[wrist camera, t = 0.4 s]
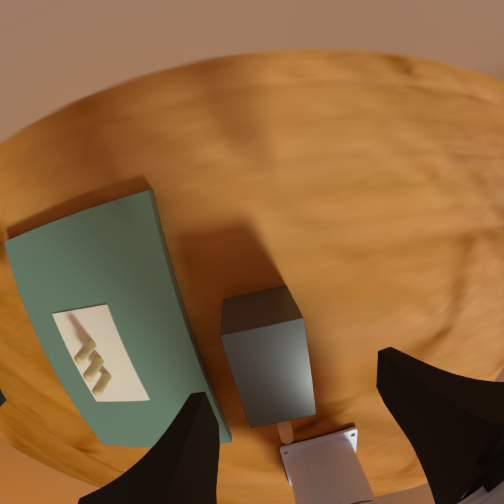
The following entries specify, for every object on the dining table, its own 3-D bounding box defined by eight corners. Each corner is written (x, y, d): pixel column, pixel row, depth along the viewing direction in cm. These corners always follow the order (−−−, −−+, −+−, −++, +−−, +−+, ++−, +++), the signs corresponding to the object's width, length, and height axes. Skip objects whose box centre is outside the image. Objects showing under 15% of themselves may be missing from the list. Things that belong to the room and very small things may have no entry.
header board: (231, 434, 22) (232, 462, 19) (105, 438, 22) (96, 460, 19) (152, 189, 17) (134, 190, 14) (11, 239, 17) (-16, 248, 14)
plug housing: (305, 402, 22) (318, 443, 17) (255, 413, 22) (260, 456, 17) (286, 285, 19) (303, 317, 14) (223, 299, 19) (220, 335, 14)
